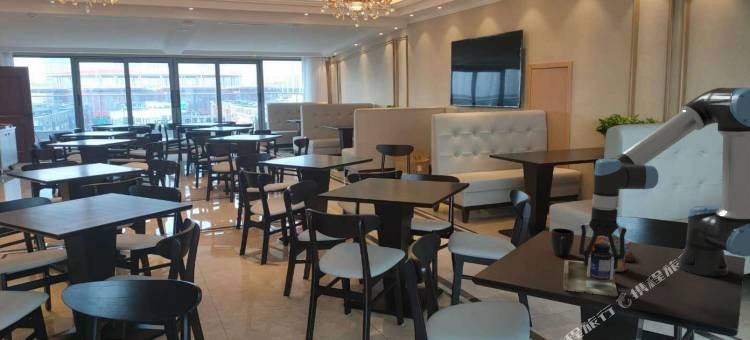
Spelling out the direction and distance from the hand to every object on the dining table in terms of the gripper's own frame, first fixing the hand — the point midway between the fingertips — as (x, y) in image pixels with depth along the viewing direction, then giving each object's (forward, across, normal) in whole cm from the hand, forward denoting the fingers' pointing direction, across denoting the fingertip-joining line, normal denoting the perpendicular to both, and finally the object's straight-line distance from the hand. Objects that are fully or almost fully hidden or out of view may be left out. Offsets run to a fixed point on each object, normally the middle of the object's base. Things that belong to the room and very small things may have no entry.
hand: (599, 276), depth 174 cm
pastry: (+4, -6, -39) cm, 40 cm away
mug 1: (+4, +12, -30) cm, 33 cm away
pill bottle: (+1, 0, 0) cm, 1 cm away
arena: (+4, +3, 0) cm, 5 cm away
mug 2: (+4, -6, -22) cm, 24 cm away
